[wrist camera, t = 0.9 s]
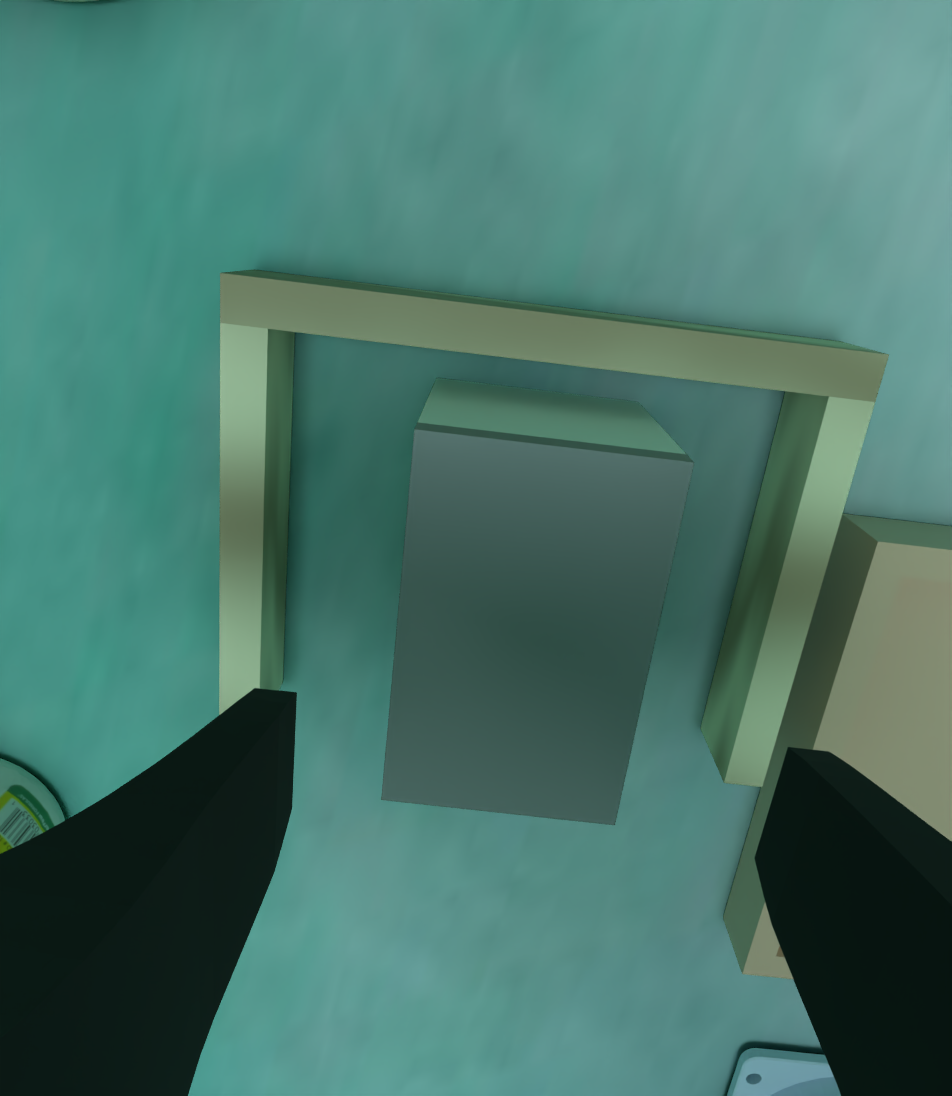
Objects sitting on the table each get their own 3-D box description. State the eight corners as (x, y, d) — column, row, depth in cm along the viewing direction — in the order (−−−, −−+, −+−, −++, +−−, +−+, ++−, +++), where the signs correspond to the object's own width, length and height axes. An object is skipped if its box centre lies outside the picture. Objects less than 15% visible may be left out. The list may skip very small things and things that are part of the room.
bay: (734, 732, 23) (762, 786, 21) (247, 677, 23) (219, 727, 20) (840, 341, 19) (889, 354, 17) (254, 270, 19) (220, 272, 16)
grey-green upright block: (584, 681, 23) (614, 825, 17) (409, 661, 23) (381, 799, 17) (637, 401, 20) (694, 463, 14) (437, 376, 20) (414, 429, 14)
